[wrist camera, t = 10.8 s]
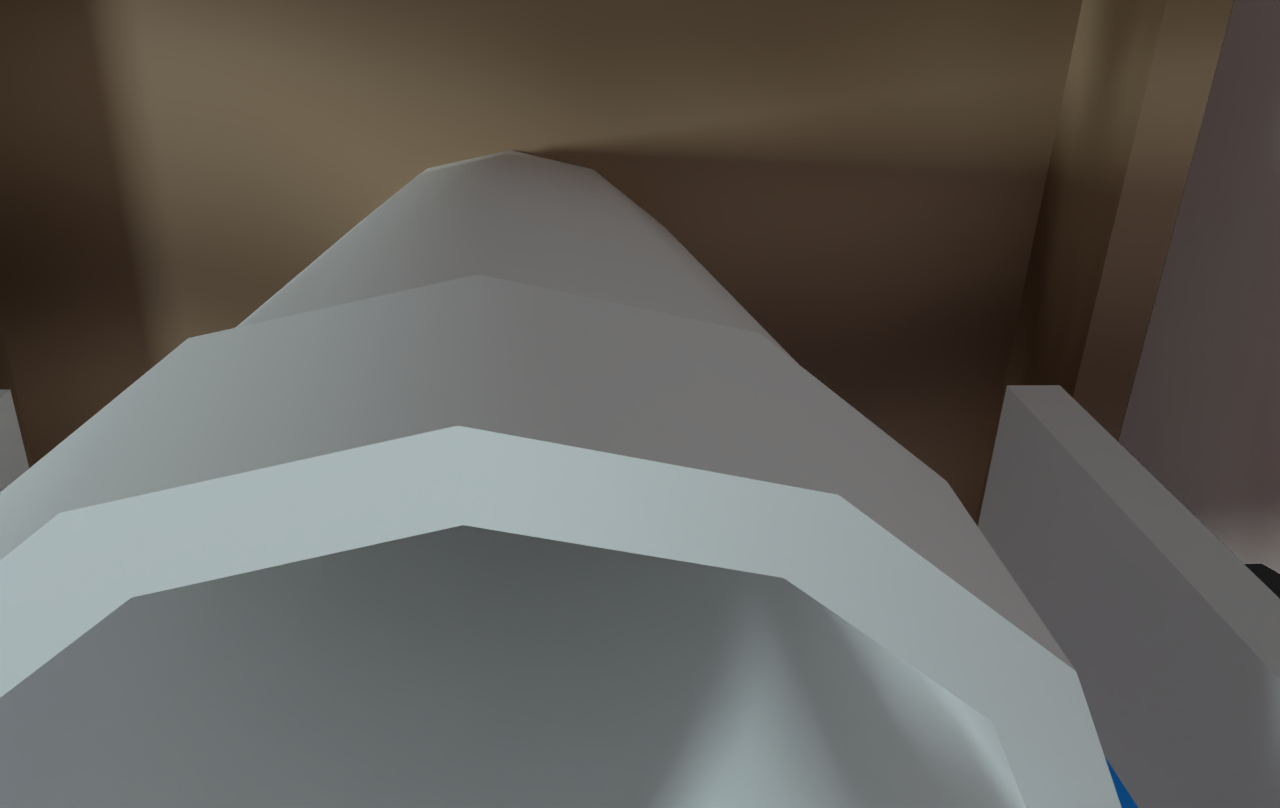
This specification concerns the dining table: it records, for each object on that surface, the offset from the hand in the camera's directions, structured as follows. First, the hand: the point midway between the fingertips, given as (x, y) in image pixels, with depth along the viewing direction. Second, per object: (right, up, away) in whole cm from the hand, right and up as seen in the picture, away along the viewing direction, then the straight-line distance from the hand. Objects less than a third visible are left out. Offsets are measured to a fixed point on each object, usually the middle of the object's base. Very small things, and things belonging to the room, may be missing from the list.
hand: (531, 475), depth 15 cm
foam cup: (-1, +2, +5) cm, 5 cm away
